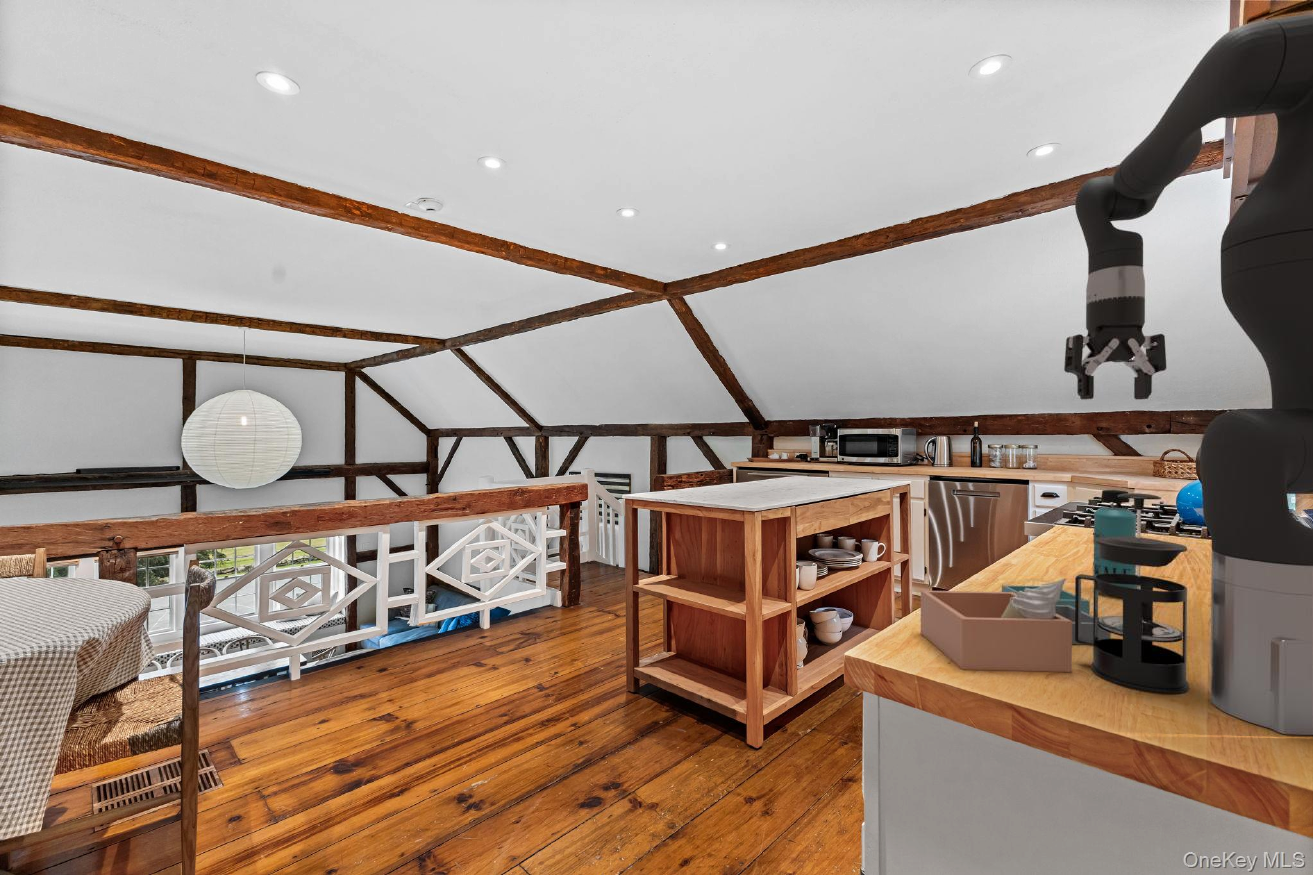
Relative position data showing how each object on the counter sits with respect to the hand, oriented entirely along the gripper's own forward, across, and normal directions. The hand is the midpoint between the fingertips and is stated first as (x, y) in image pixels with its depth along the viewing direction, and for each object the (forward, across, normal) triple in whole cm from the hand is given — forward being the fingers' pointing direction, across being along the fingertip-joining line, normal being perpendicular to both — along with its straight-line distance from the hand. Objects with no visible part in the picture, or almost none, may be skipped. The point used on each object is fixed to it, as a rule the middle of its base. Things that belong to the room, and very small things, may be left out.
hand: (1114, 399), depth 94 cm
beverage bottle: (+36, +10, +14) cm, 40 cm away
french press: (+36, -13, -23) cm, 45 cm away
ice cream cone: (+36, -27, -14) cm, 48 cm away
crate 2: (+36, -13, -7) cm, 39 cm away
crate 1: (+36, -8, +5) cm, 37 cm away
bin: (+36, -27, -15) cm, 48 cm away
